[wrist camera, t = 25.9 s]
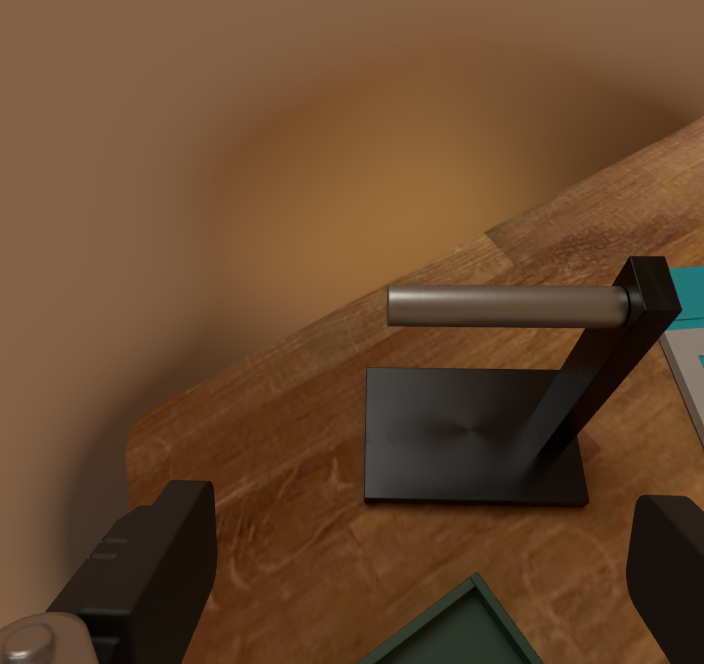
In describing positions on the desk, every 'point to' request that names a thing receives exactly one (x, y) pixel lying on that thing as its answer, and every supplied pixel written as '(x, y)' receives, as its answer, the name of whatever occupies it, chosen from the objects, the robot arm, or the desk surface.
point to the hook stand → (507, 391)
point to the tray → (459, 633)
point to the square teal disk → (688, 341)
